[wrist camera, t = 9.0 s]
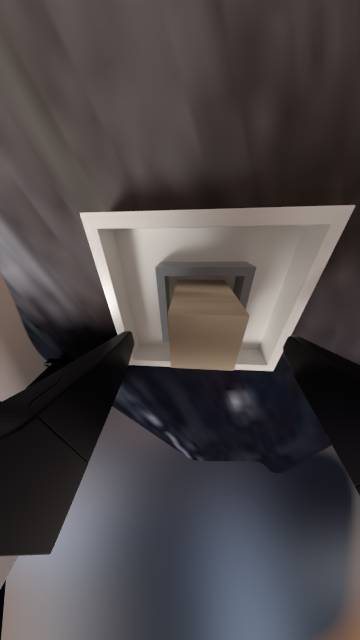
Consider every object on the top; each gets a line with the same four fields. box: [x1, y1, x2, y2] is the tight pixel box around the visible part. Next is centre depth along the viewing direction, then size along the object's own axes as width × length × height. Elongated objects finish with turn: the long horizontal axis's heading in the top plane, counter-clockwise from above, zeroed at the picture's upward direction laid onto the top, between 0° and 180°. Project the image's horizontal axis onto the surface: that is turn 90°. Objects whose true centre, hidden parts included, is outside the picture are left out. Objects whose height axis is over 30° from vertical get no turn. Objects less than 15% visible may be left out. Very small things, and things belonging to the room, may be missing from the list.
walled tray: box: [80, 205, 356, 371], centre depth 13 cm, size 13×15×3 cm
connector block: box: [168, 280, 250, 371], centre depth 11 cm, size 4×4×6 cm
